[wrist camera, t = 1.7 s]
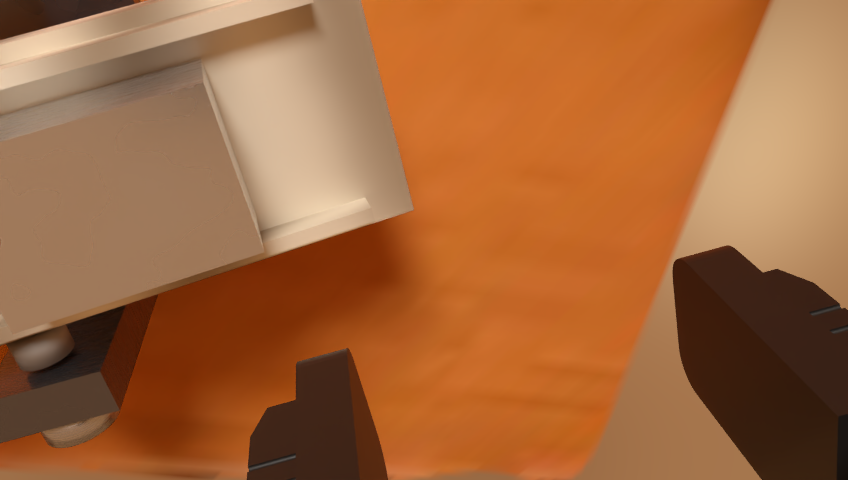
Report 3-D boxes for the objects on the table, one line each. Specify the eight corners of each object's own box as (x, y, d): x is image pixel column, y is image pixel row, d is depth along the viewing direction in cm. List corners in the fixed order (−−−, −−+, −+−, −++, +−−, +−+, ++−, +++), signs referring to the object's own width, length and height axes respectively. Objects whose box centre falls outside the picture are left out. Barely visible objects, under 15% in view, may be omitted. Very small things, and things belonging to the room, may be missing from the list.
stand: (90, -131, 28) (-16, -131, 18) (240, 265, 35) (219, 409, 26) (-188, -61, 28) (-438, -26, 18) (23, 324, 35) (-77, 491, 26)
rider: (200, 58, 23) (203, 83, 20) (254, 209, 25) (264, 252, 22) (-45, 127, 22) (-82, 165, 19) (35, 278, 24) (12, 334, 21)
